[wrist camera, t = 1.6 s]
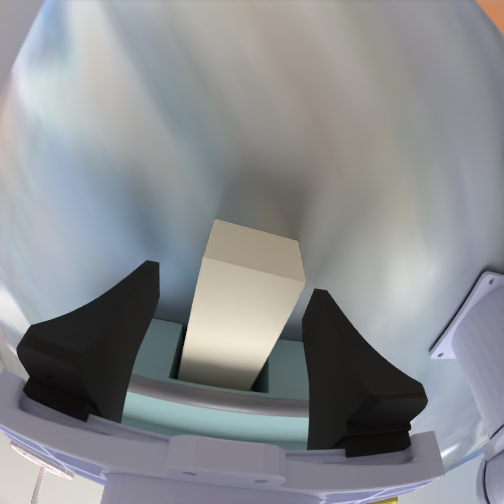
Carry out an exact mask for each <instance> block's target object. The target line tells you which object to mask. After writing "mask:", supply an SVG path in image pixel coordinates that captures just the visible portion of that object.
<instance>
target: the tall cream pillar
mask: <svg viewBox="0 0 504 504" xmlns="http://www.w3.org/2000/svg"><path fill="white" fill-rule="evenodd" d="M305 284H306V278H305V273H304V268H303V263H302V258H301V253H300V248H299V243H298V241H296V240H292V239H289V238H285V237H282V236H278V235H274V234H271V233H267V232H263V231H260V230H256V229H252V228H249V227H245V226H241V225H237V224H234V223H230V222H226V221H222V220H218V219H215V220H214V223H213V227H212V230H211V233H210V236H209V239H208V242H207V245H206V249H205V252H204V255H203V259H202V263H201V268H200V272H199V276H198V281H197V285H196V290H195V295H194V299H193V304H192V309H191V313H190V318H189V323H188V328H187V333H186V338H185V343H184V348H183V353H182V359H181V364H180V369H179V375H178V380H179V381H185V382H190V383H195V384H201V385H207V386H213V387H220V388H226V389H234V390H241V391H249V390H250V388H251V386H252V384H253V383H254V381H255V379H256V377H257V376H258V374H259V372H260V370H261V369H262V367H263V365H264V363H265V361H266V359H267V358H268V356H269V354H270V352H271V350H272V348H273V347H274V345H275V343H276V341H277V339H278V337H279V335H280V333H281V332H282V330H283V328H284V326H285V324H286V322H287V320H288V318H289V316H290V314H291V312H292V310H293V308H294V306H295V305H296V303H297V301H298V299H299V297H300V295H301V293H302V291H303V289H304V287H305Z"/></svg>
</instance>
